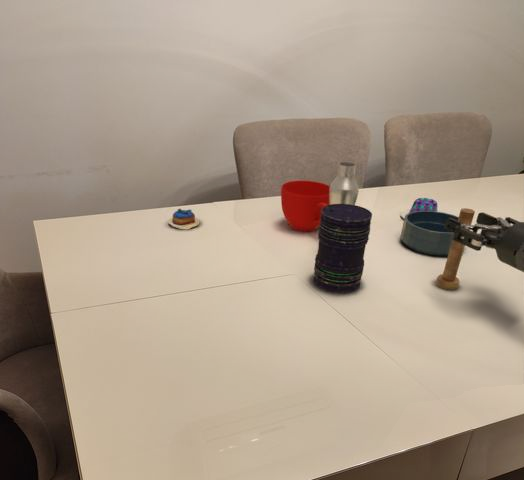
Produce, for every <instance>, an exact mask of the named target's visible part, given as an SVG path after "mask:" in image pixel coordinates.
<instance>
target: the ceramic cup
mask: <svg viewBox="0 0 524 480" xmlns="http://www.w3.org/2000/svg"><path fill="white" fill-rule="evenodd" d="M329 188H330V185H329V184H326V183H323V182H320V181H315V180H314V181H312V180H291V181H287V182H284V183H283V184H282V185H281V187H280V203H281V209H282V213H283V216H284V218H285V220H286V221H287V223H288V225H289V226H290V227H291V228H292V229H293V230H295V231H298V232H312V231H315V230H317V228H319V223H320V219H321V210H322V208H323V207H324V206H327V205H329Z"/></svg>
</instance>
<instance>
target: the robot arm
mask: <svg viewBox="0 0 524 480" xmlns="http://www.w3.org/2000/svg"><path fill="white" fill-rule="evenodd" d="M475 222H476V223H474V225H473V224H471V225H468V224H464V223H462V222H460V221H458V220H455V219H453V218H447V219H446V223H445V229H446V230H448V231H450V232H453V233H455V234H454V237H453V240H454V241H456V242H458V243H461V244H463V245H465V247H467V248H470V249H472V250H474V251H476V252H477V251H478V252H479V251H481V250H482V247H485V248H487V249H491V250H495V252H496V257H497V259H498V260H499V261H500V262H502V263H503V264H506V265H508V266H509V267H512V268H514V269H516V270H518V271H520V272H521V273H524V221H518V220H516V219H514V218H513V217H510V216H506V217H505V218H502V217H500V216H498V217H496V216H493V215H491V214H488V213H486V212H483V211H481V212H479V213H478V214H477V217H476V220H475ZM468 229H469V230H468ZM479 230H481V231H480V233H478V231H479Z"/></svg>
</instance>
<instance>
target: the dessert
mask: <svg viewBox="0 0 524 480" xmlns="http://www.w3.org/2000/svg"><path fill="white" fill-rule="evenodd" d="M168 224H169V225H170V226H171V227H174V228H175V229H179V230H189V229H192V228H195V227H197V226H198V225H199V224H200V221H199V220H198V218H196V215H195V213H194V212H193V211H192V209H186V210H185V209H181V208H178V209H177V210H175V211H174V212H173V214H172V217H171V218H170V219H169V220H168Z"/></svg>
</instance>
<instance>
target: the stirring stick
mask: <svg viewBox="0 0 524 480" xmlns="http://www.w3.org/2000/svg"><path fill="white" fill-rule="evenodd" d="M458 217H459V218H458V221H460V222H462V223H464V224H468V225H472V223H473V220H474V217H475V210H474V209H471V208H466V207H465V208H464V207H463V208H461V209H460V210H459V215H458ZM468 230H469V229H468ZM454 234H455V233H454ZM453 237H454V236H453ZM464 247H465V248H466V246H465V245H463V244H461V243H458V242H456V241H454V240H452V243H451V247H450V250H449V254H448V256H447V258H446V261H445V266H444V269H443V272H442V274H438V275H437V277H436V281H435V285H436V286H437V287H439V288H441V289H443V290H448V291H454V290H456V289H458V288H459V284H460V279H459V278H458V277H457V275H458V270H459V267H460V264H461V260H462V259H463V255H464V254H463V253H464V250H465V248H464Z"/></svg>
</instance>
